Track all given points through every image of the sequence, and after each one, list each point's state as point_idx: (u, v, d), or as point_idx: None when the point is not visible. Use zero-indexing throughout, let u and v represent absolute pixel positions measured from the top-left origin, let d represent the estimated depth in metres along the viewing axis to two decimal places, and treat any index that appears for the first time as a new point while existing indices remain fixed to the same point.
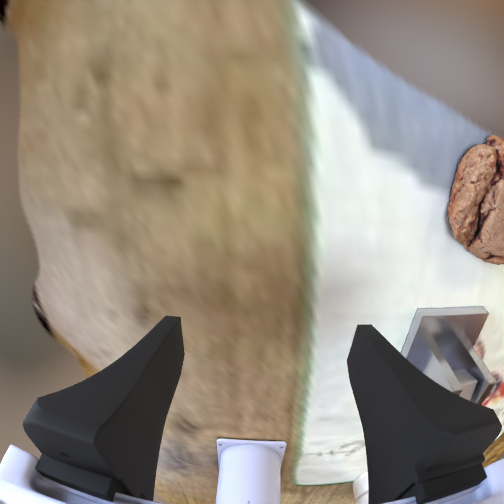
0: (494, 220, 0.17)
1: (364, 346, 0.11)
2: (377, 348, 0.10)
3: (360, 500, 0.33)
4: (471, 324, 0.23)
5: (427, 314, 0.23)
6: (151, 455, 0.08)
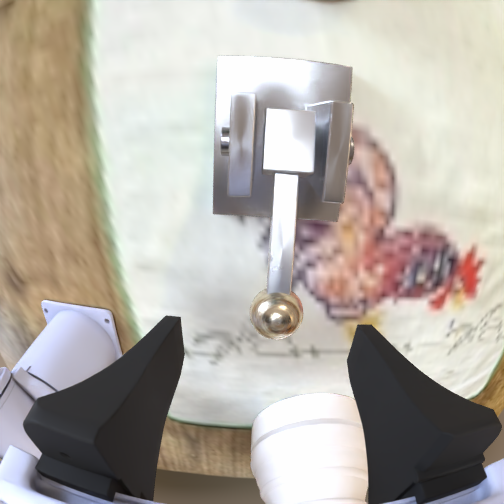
0: None
1: (365, 346, 0.11)
2: (377, 348, 0.10)
3: (252, 454, 0.27)
4: (323, 80, 0.16)
5: (228, 56, 0.16)
6: (151, 455, 0.08)
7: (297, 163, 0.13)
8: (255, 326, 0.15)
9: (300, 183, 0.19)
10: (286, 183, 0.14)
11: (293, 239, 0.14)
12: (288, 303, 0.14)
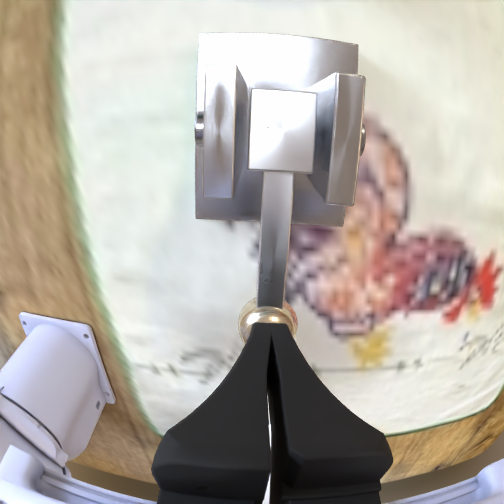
0: None
1: (271, 345, 0.11)
2: (277, 348, 0.10)
3: None
4: (324, 59, 0.13)
5: (211, 33, 0.13)
6: None
7: (292, 161, 0.10)
8: (244, 341, 0.13)
9: (298, 181, 0.16)
10: (278, 183, 0.11)
11: (286, 249, 0.12)
12: (280, 320, 0.12)
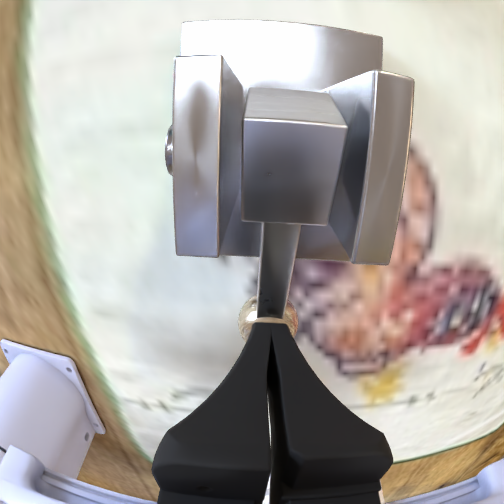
0: None
1: (271, 345, 0.11)
2: (277, 348, 0.10)
3: None
4: (341, 54, 0.10)
5: (198, 22, 0.10)
6: None
7: (301, 213, 0.08)
8: (244, 340, 0.13)
9: None
10: None
11: (289, 278, 0.11)
12: None
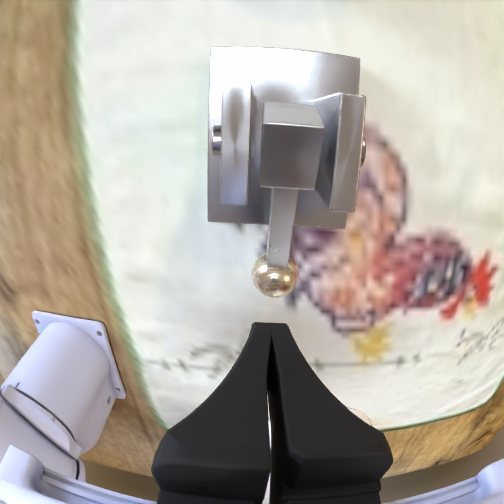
0: None
1: (271, 345, 0.11)
2: (277, 348, 0.10)
3: None
4: (328, 73, 0.14)
5: (222, 47, 0.14)
6: None
7: (297, 181, 0.12)
8: None
9: None
10: (286, 188, 0.13)
11: (291, 232, 0.15)
12: (284, 277, 0.17)
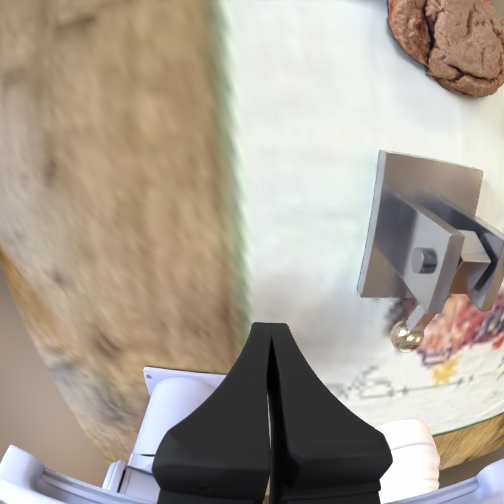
0: (444, 20, 0.12)
1: (271, 345, 0.11)
2: (277, 348, 0.10)
3: None
4: (463, 184, 0.17)
5: (393, 152, 0.17)
6: None
7: (462, 290, 0.15)
8: (395, 347, 0.21)
9: None
10: None
11: None
12: (419, 339, 0.19)
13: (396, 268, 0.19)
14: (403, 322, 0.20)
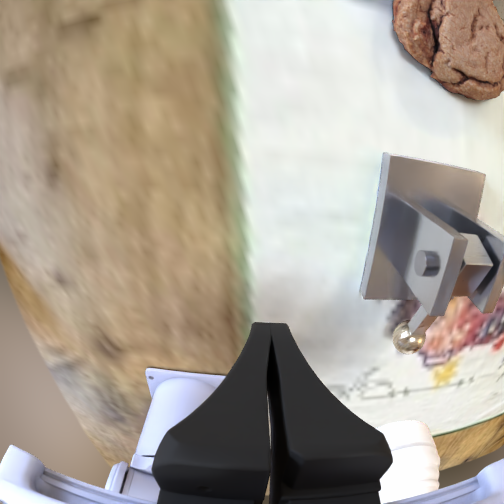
0: (449, 24, 0.12)
1: (271, 345, 0.11)
2: (277, 348, 0.10)
3: None
4: (465, 187, 0.17)
5: (397, 155, 0.17)
6: None
7: (464, 292, 0.15)
8: (397, 348, 0.21)
9: None
10: None
11: None
12: (421, 341, 0.20)
13: (399, 270, 0.19)
14: (405, 324, 0.20)
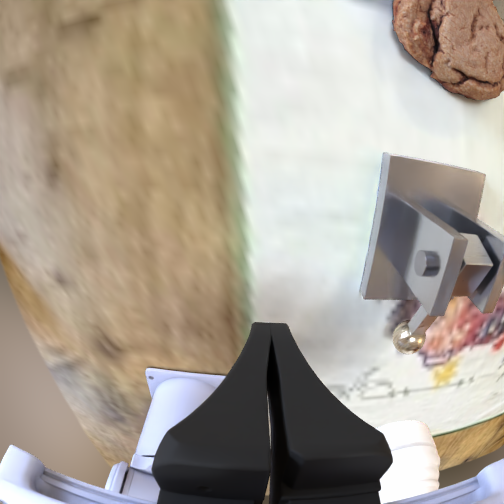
0: (449, 24, 0.12)
1: (271, 345, 0.11)
2: (277, 348, 0.10)
3: None
4: (465, 187, 0.17)
5: (397, 155, 0.17)
6: None
7: (464, 292, 0.15)
8: (397, 348, 0.21)
9: None
10: None
11: None
12: (421, 341, 0.20)
13: (399, 270, 0.19)
14: (405, 324, 0.20)
